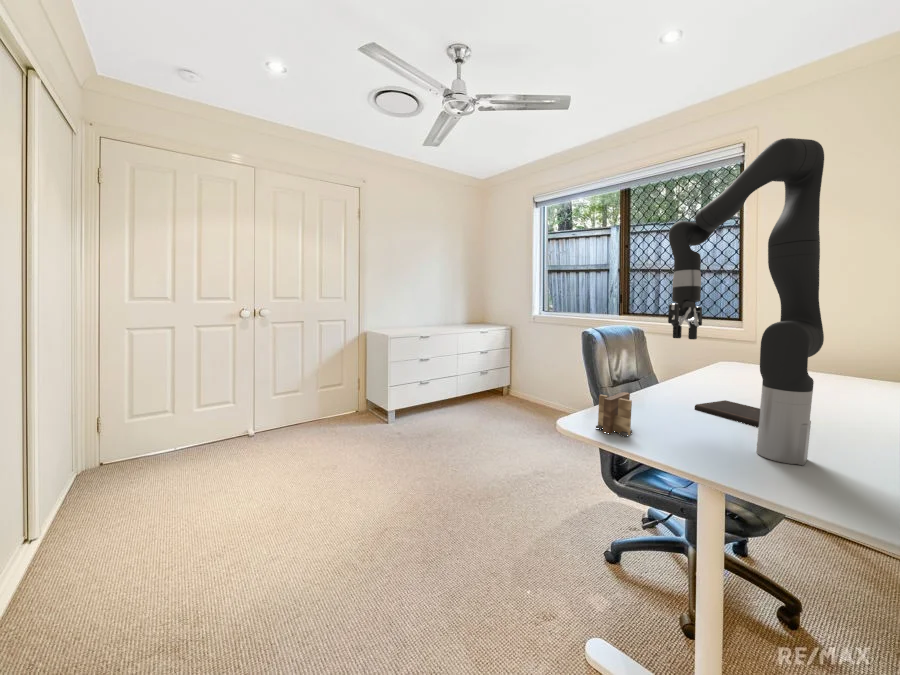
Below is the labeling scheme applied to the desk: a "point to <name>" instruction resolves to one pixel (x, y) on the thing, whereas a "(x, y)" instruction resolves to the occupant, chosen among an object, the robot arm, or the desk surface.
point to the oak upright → (617, 416)
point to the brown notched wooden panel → (612, 410)
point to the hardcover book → (731, 411)
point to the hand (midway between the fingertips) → (684, 338)
